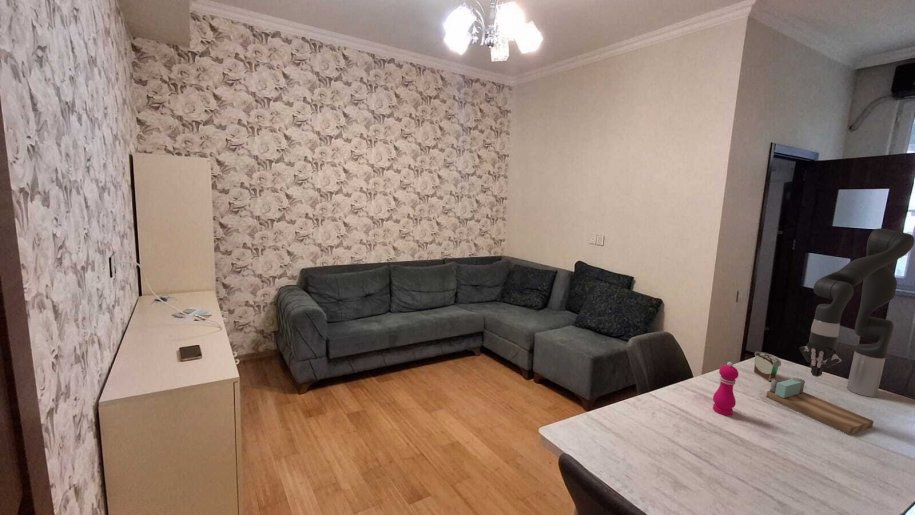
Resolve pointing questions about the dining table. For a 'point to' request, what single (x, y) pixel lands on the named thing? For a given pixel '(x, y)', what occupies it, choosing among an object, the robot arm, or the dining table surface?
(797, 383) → the hinged leg
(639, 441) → the dining table surface
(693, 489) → the dining table surface
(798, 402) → the board
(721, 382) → the pepper mill
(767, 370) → the food container
